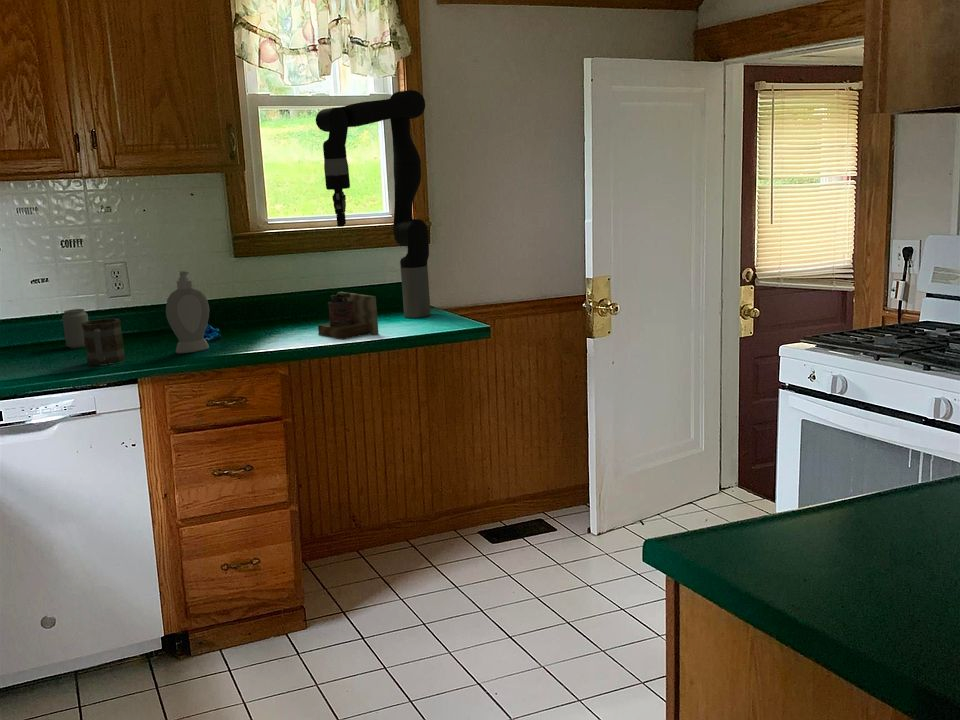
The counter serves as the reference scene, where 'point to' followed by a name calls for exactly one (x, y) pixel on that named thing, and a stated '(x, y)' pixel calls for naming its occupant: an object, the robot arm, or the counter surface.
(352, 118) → the robot arm
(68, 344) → the can
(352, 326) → the wooden bookend
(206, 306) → the soap bottle
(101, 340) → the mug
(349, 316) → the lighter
